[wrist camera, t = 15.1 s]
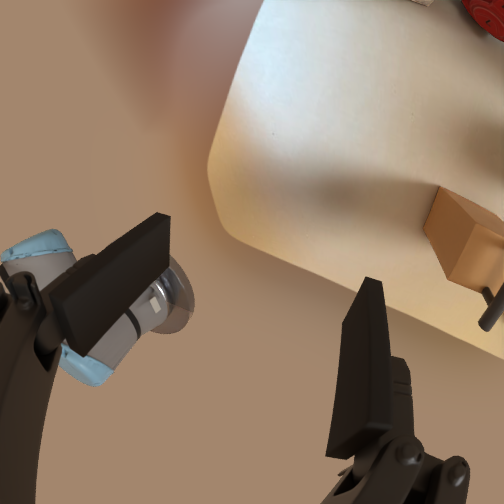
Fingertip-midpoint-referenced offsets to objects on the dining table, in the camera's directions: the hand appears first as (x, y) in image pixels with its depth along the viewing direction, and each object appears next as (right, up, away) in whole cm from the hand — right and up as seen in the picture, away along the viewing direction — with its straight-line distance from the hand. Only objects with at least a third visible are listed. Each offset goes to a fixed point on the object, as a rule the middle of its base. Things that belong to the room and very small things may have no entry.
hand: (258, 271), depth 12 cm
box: (+26, +5, +16) cm, 31 cm away
